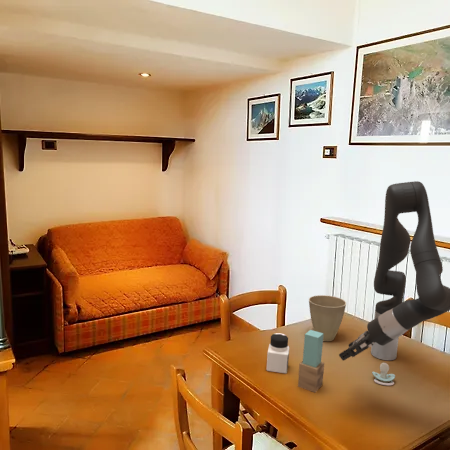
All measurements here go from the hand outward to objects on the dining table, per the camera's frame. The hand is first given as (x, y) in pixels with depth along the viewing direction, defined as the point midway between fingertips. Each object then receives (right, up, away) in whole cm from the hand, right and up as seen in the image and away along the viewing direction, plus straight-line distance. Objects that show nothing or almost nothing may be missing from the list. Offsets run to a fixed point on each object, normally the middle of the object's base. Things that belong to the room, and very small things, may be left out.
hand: (345, 352), depth 131 cm
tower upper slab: (-9, -9, +7) cm, 15 cm away
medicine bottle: (-19, -11, +19) cm, 29 cm away
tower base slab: (-9, -13, +8) cm, 18 cm away
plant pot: (+4, -8, +46) cm, 47 cm away
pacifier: (+16, -14, +13) cm, 25 cm away
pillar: (-9, -5, +7) cm, 13 cm away
